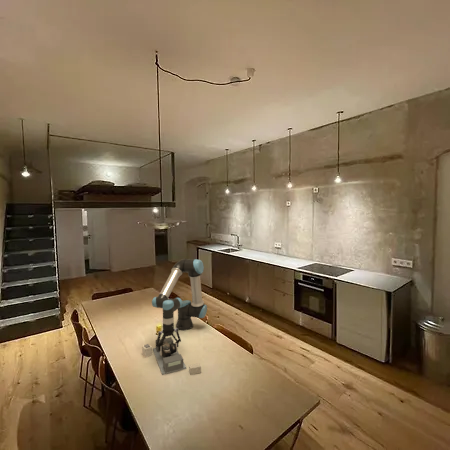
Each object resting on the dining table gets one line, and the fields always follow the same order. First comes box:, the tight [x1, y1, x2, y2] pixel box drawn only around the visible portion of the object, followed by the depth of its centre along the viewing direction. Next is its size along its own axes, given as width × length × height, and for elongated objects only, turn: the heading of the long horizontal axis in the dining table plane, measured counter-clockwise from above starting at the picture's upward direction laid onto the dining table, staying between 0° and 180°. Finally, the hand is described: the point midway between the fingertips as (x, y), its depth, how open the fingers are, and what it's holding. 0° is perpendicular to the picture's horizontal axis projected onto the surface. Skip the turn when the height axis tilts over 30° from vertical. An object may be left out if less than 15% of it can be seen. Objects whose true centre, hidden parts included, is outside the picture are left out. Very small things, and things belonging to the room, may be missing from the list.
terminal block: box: [188, 363, 202, 376], centre depth 172 cm, size 7×4×4 cm, turn 109°
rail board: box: [152, 336, 187, 376], centre depth 187 cm, size 16×34×7 cm, turn 25°
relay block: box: [141, 343, 153, 358], centre depth 193 cm, size 5×6×7 cm
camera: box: [161, 341, 178, 358], centre depth 187 cm, size 16×10×10 cm, turn 31°
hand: (168, 353), depth 187 cm, fingers closed on camera, 10 cm apart
